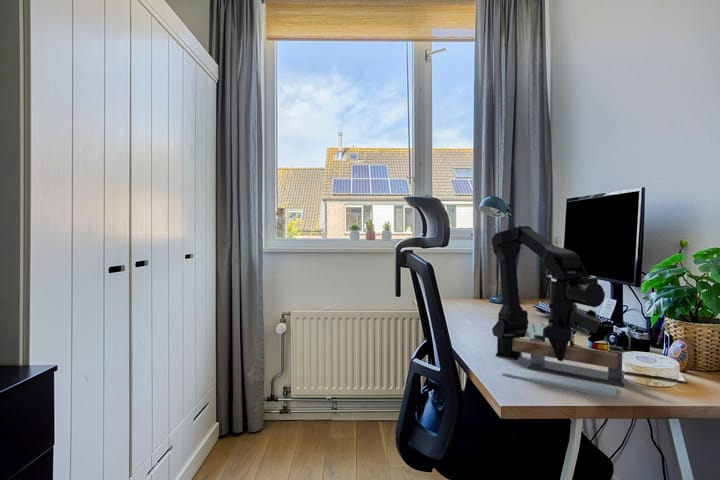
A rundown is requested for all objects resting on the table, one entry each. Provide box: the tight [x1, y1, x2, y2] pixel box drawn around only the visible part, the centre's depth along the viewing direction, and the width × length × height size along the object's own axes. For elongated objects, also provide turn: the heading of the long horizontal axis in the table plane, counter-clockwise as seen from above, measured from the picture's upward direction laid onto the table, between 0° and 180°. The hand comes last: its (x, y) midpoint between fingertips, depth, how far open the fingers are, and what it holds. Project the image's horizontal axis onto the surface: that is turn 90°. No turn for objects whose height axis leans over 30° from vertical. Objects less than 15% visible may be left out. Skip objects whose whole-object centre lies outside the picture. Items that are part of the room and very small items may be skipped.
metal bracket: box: [520, 321, 550, 343], centre depth 145 cm, size 14×6×15 cm
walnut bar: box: [512, 337, 617, 369], centre depth 100 cm, size 24×3×3 cm, turn 55°
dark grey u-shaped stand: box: [527, 335, 625, 387], centre depth 107 cm, size 23×7×8 cm, turn 55°
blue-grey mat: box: [502, 365, 618, 400], centre depth 101 cm, size 26×7×1 cm, turn 55°
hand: (561, 359), depth 100 cm, fingers closed on walnut bar, 3 cm apart
